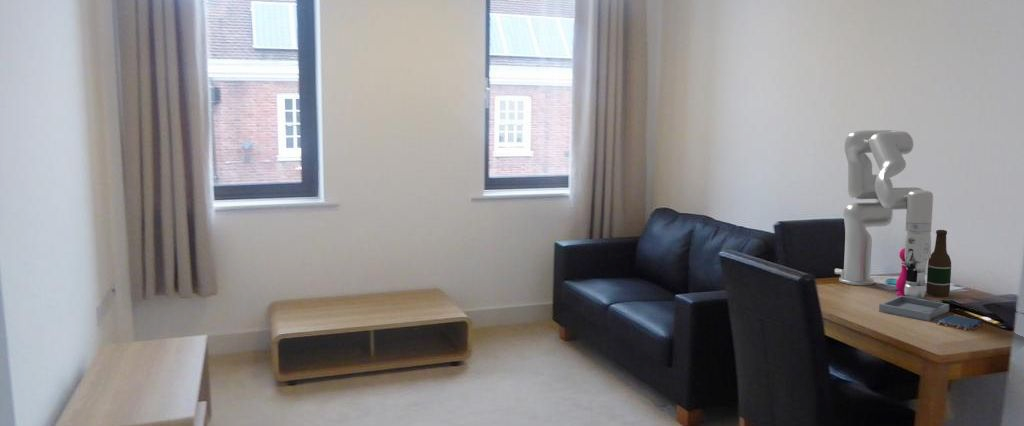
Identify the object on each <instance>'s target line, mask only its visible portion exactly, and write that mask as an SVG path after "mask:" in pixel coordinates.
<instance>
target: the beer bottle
mask: <svg viewBox="0 0 1024 426" xmlns="http://www.w3.org/2000/svg"><path fill="white" fill-rule="evenodd" d="M935 233H936V237H935V245H934V250H933V252H931V258H930V259H928V260H927V275H926V294H927V296H931V297H936V298H946V297H949V296H950V291H951V277H952V260H951V257H950V255H949V254H948V251H947V234H948V231H947V230H946V229H945V230H944V229H937V230H936V231H935Z"/></svg>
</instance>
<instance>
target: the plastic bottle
mask: <svg viewBox="0 0 1024 426" xmlns="http://www.w3.org/2000/svg"><path fill="white" fill-rule="evenodd" d="M912 241H913V240H912ZM927 259H928V255H927V253H926V254H925V255H924V261H923V262H921V263H918V262H917V269H916V271H918V272H917V282H909V281H906V284H905V288H904V293H905V295H906V297H909V298H913V299H923V298H924V297H926V294H927V285H926V267H927V265H928V260H929V259H928V260H927ZM911 261H915V259H914V256H913V257H912V260H911ZM912 264H913V265H914V263H912Z"/></svg>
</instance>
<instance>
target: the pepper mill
mask: <svg viewBox="0 0 1024 426" xmlns="http://www.w3.org/2000/svg"><path fill="white" fill-rule="evenodd" d="M899 258H900V259H901V260H900V265H901V271H900V275H899V277H898V278H897V280H896V281H895V282H896V283H895V287H896V289H897V291H896V297H898V296H906V295H905V293H904V288H905V284H906V276H907V269H906V268H907V266H906V263H905V247H904V248H902V249H901V250H900V251H899Z"/></svg>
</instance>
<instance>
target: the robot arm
mask: <svg viewBox="0 0 1024 426" xmlns="http://www.w3.org/2000/svg"><path fill="white" fill-rule="evenodd" d="M913 148H914V140H913V137H912V136H911V135H910V133H908V132H907V131H901V130H893V129H882V130H881V129H880V130H877V129H875V130H874V129H873V130H871V129H870V130H857V131H853V132H850V133H849V134H848V135H847V136H846V137H845V140H844V153H845V157H846V159H847V167H848V168H847V192H848V196H849V197H850V198H852V199H854V200H875V202H855V203H853V202H852V203H849V204H848V205H846V206H845V207H844V209H843V212H842V213H843V214H842V216H843V222H844V232H845V233H844V235H845V236H844V237H845V238H844V257H843V258H844V259H843V260H844V261H843V269H841V268H834V275H835V274H836V275H840V276H839V278H838V279H839V282H841V283H843V284H847V285H851V286H870V285H873V284H875V279H873V278H872V277H871V272H872V271H871V269H872V268H871V266H872V265H871V264H872V249H873V248H872V247H873V246H872V245H873V240H872V239H873V238H872V236H871V233H870V232H869V231H868V229H867V228H870V227H871V228H873V227H875V228H877V227H881V228H882V227H887V226H889V225H891V222H892V220H893V213H894V212H893V211H894V210H895V211H896V210H898V211H899V210H906V212H905V213H906V217H905V232H906V237H905V245H904V248H905V263H906V266H907V268H906V269H907V276H906V281H909V282H917V272H918V271H916V269H917V262H918V263H921V262H923V261H924V255H925V254H926V253H927V255H928V259H927V261H928V260H929V259H930V258H931V254H932V236H931V233H932V223H933V222H932V220H933V219H932V218H933V205H934V194H933V192H931V191H929V190H924V189H922V188H921V187H911V186H910V187H893V186H894V185H893V183H892V179H891V178H893V177H895V176H897V175H899V174H900V173H902V172H903V171H904V170H905V169H906V165H907V161H906V160H905V158H904V156H903V155H908V154H910V152H912V151H913ZM871 153H872V155H873V157H874V160H875V162H876V164H877V167H878V168H879V171H878V172H877V174H873V162H872V160H871V158H870V156H868V154H871ZM912 240H913V241H912ZM913 256H914V259H915V261H911V260H912V257H913ZM912 263H914V265H913V264H912Z"/></svg>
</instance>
